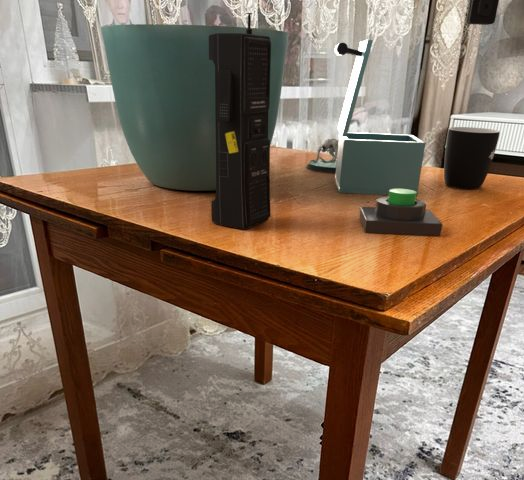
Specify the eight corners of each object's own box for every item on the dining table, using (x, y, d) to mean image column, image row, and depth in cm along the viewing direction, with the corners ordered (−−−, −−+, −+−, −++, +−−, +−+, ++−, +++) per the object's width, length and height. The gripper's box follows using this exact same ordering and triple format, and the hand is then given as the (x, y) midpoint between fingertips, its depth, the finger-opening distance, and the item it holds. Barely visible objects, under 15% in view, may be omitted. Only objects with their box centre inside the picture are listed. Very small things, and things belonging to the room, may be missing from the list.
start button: (411, 201, 76) (413, 189, 75) (416, 207, 73) (418, 194, 72) (386, 200, 76) (387, 187, 75) (389, 206, 73) (391, 193, 72)
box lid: (364, 42, 94) (337, 36, 94) (373, 40, 84) (341, 32, 83) (341, 129, 101) (315, 123, 100) (346, 137, 90) (317, 130, 90)
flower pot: (78, 185, 93) (58, 22, 82) (179, 163, 117) (174, 33, 105) (229, 210, 81) (229, 23, 70) (306, 179, 105) (316, 36, 94)
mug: (489, 192, 99) (503, 133, 94) (439, 188, 101) (449, 130, 96) (483, 181, 109) (494, 127, 105) (437, 177, 111) (446, 124, 106)
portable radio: (244, 233, 70) (247, 7, 59) (206, 225, 73) (201, 7, 61) (272, 220, 77) (280, 13, 65) (236, 214, 79) (238, 13, 67)
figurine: (292, 166, 117) (293, 136, 114) (332, 162, 124) (335, 133, 121) (327, 175, 109) (329, 142, 107) (368, 170, 116) (372, 139, 113)
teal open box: (405, 183, 104) (412, 134, 100) (416, 196, 94) (425, 142, 90) (334, 180, 105) (339, 131, 101) (338, 192, 95) (343, 139, 91)
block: (427, 221, 79) (431, 196, 78) (440, 236, 72) (445, 210, 70) (359, 218, 80) (361, 193, 78) (365, 232, 72) (368, 206, 71)
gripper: (579, -191, 55) (531, 21, 63) (524, -142, 68) (490, 28, 76) (504, -193, 55) (466, 19, 63) (463, -143, 68) (437, 26, 77)
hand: (479, 23), depth 70 cm, fingers closed
